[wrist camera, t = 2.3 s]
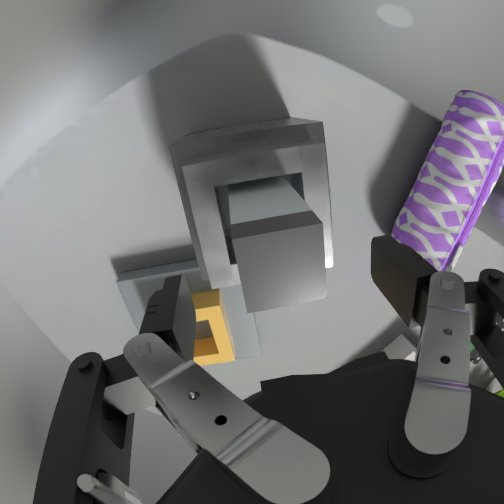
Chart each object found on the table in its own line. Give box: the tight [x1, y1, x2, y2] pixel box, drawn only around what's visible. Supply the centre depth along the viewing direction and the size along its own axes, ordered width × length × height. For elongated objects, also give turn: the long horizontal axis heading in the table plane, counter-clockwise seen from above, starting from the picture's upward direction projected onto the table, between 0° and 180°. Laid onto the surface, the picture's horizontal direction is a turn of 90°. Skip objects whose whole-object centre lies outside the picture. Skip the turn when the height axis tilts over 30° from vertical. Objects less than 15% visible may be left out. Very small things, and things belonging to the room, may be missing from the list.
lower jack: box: [116, 259, 262, 366], centre depth 34 cm, size 14×14×5 cm
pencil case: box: [391, 90, 504, 272], centre depth 27 cm, size 22×9×10 cm, turn 160°
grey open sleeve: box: [170, 117, 333, 289], centre depth 24 cm, size 10×10×13 cm
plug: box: [228, 175, 327, 313], centre depth 17 cm, size 4×4×9 cm
